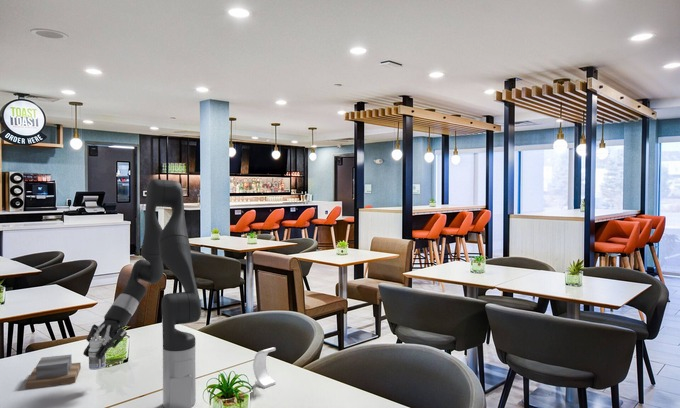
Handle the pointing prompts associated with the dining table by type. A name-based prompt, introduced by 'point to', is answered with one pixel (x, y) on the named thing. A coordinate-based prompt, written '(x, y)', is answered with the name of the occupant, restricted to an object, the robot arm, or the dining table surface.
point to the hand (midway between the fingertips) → (91, 356)
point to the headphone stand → (262, 369)
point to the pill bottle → (93, 360)
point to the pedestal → (53, 372)
